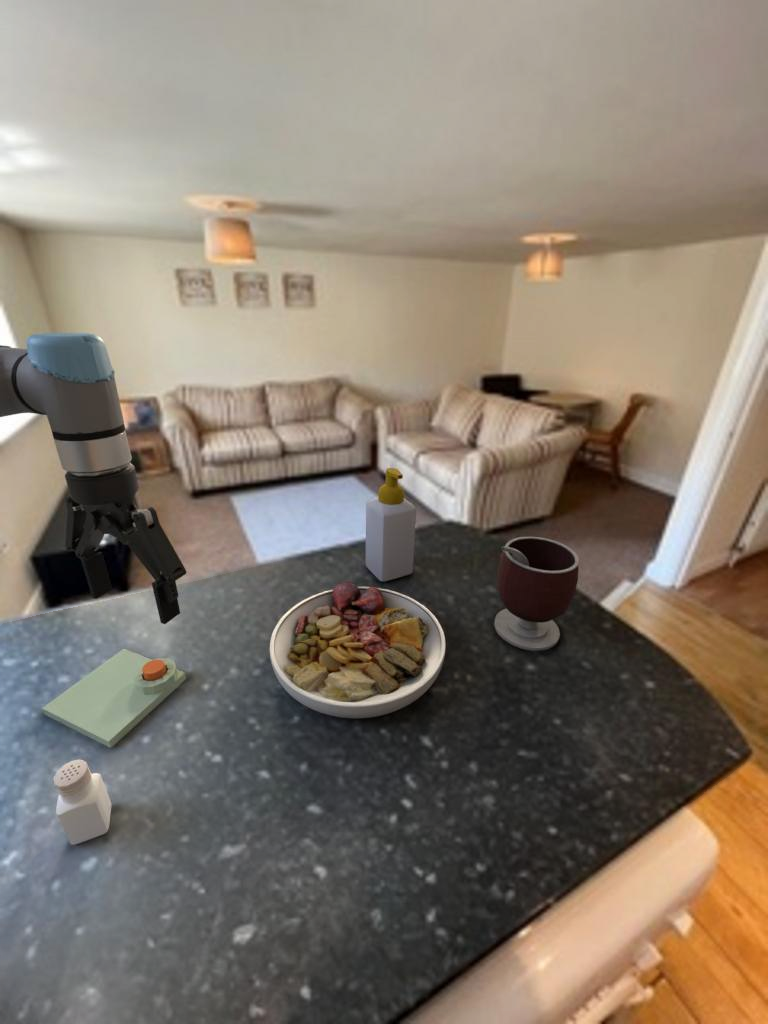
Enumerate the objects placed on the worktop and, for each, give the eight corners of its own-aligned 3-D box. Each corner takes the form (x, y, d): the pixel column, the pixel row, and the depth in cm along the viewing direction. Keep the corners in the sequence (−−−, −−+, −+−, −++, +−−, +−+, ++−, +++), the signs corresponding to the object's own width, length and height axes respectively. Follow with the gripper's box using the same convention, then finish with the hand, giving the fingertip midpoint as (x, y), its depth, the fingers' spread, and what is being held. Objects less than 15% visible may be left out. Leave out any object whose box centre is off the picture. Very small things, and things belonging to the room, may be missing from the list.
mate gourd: (532, 601, 96) (548, 517, 87) (579, 643, 84) (604, 551, 76) (469, 617, 91) (481, 529, 82) (511, 664, 79) (529, 567, 70)
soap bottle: (381, 584, 100) (383, 480, 90) (363, 565, 107) (363, 466, 97) (414, 574, 104) (421, 473, 94) (395, 557, 111) (399, 461, 101)
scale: (44, 714, 67) (38, 700, 66) (125, 654, 79) (121, 641, 78) (111, 748, 62) (105, 733, 61) (187, 678, 74) (184, 664, 73)
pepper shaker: (75, 815, 54) (52, 763, 50) (113, 802, 56) (93, 750, 52) (69, 849, 51) (44, 796, 47) (109, 834, 52) (88, 781, 48)
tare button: (139, 677, 71) (137, 670, 70) (156, 664, 74) (154, 656, 73) (154, 683, 70) (152, 676, 69) (170, 670, 72) (169, 662, 72)
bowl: (473, 706, 70) (478, 668, 67) (278, 751, 63) (274, 711, 59) (410, 596, 96) (412, 565, 93) (267, 619, 89) (263, 586, 85)
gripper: (199, 472, 55) (221, 613, 64) (62, 445, 63) (99, 572, 72) (147, 493, 48) (180, 646, 57) (4, 460, 57) (52, 597, 66)
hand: (135, 605), depth 65 cm, fingers open, 13 cm apart
